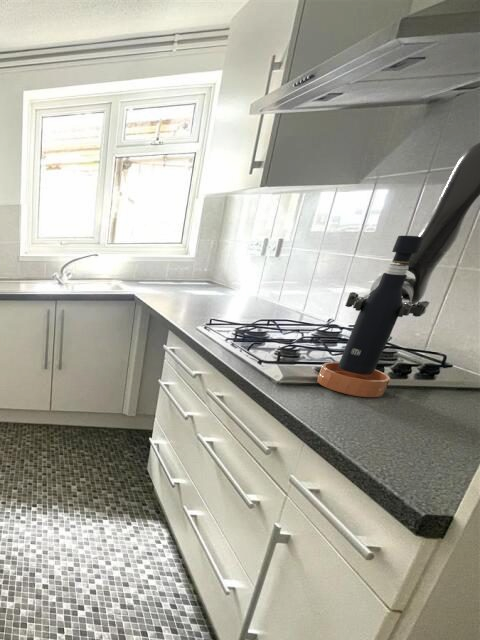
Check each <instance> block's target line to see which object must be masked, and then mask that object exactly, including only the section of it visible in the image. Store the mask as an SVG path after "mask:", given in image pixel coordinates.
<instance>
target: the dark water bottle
mask: <svg viewBox="0 0 480 640" xmlns="http://www.w3.org/2000/svg"><path fill="white" fill-rule="evenodd" d="M423 238H424V237H421V236H417V235H397V238H396V240H395V243H394V246H393V248H392V250H391V253H395V254H394V257H393V259H392V260H391V262H392V264H391V263H389V264H388V266H387V267H386V268H387V269H386V270H385V272H383V273H382V274H383V276H382V278H381V280H380V283H379V285H378V287H377V288H376V289H375V290H374V291H373V292H372V293H371V294H370V296H369V297H368V298H367V300H366V301H365V303H364V304H363V306H362V308H361V310H360V311H358V312H359V313H358V314H357V317H356V320H355V322H354V325H353V327H352V330H351V333H350V335H349V337H348V340H347V343H346V345H345V347H344V349H343V352H342V354H341V357H340V360H339V361H338V362H339V365H338V367H339V368H341V369H343V370H345V371H348V372H352V373H357V374H366V375H368V374H373V373H374V370H376V368H377V366H378V363H379V361H380V359H381V357H382V354H383V352H384V350H385V348H386V346H387V343H388V341H389V339H390V336H391V334H392V332H393V330H394V327H395V325H396V322H397V320H398V318H399V317H398V314H399V312H400V309H401V304H402V286H403V284H404V282H405V279H406V277H408V275H407V273H408V270H407V269H409V268H408V267H409V266H407V265H400V264H399V263H402V264H407V263H409V260H410V258H411V255H412V254H414V253H417V252H418V250H419V248H420V245H421V243H422V241H423Z"/></svg>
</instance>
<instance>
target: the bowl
mask: <svg viewBox="0 0 480 640" xmlns="http://www.w3.org/2000/svg"><path fill="white" fill-rule="evenodd" d="M339 362H340V361H330V362H324V363H322V364H321V366H320V367H321V368H320V371H319V373H318V376H317V378H316V381H317V383H318V384H319V385H320V386H322V387H324V388H327V389H329V390H331V391H333V392H337V393H341V394H345V395H349V396H353V397H362V398H380V397H382V396H383V395H384V394H385V392H386V390H387V388H388V385H389V382H390V381H391V377H390V375H388V374H387V373H385V372H383V371H380V370H378V369H375V370H374V373H373V374H368V375H366V374H357V373H352V372H348V371H345V370H343V369H341V368H339V367H338V365H339Z"/></svg>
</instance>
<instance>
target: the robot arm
mask: <svg viewBox="0 0 480 640" xmlns="http://www.w3.org/2000/svg"><path fill="white" fill-rule="evenodd" d="M479 197H480V141H479V142H476V143H474V144H473V145H471V146H469V148H467V149H466V150H465V151H464V152H463V153H462V154H461V156H460V157H459V159H458V161H457V162H456V163H455V166H454V168H453V170H452V171H451V174H450V176H449V178H448V180H447V181H446V184H445V185H444V188H443V190H442V191H441V194H440V195H439V198H438V199H437V201H436V203H435V205H434V207H433V209H432V211H431V212H430V214H429V216H428V218H427V219H426V221H425V223H424V224H423V226H422V227H421V228H420V230H419V232H418V233H417V234H416V236H421V237H424V238H423V241H422V243H421V245H420V248H419V250H418V252H417V253H414V254H412V255H411V258H410V260H409V263H407V264H402V263H398V264H399V265H407V266H409V267H408V268H409V269H407V272H410V273H411V274H413V276H414V277H410V276H407V277H406V279H405V282H404V284H403V286H402V304H401V309H400V312H399V314H398V318H403V316H409V315H410V314H411V315H412V316H413V317H415V318H417V317H421V316H423V315H424V314H426V311H427V309H428V307H429V304H430V301H428V300H423V297H424V296H425V294H426V291H427V288H428V286H429V282H430V279H431V277H432V274H433V273H434V271H435V269H436V268H437V267H438V265H439V264H440V262H441V261H442V260H443V258H444V257H445V256H446V254H447V253H448V252H449V251H450V249H451V248H452V247H453V246H454V244H455V242H456V241H457V239H458V237H459V235H460V233H461V229H462V227H463V225H464V220H465V219H466V216H467V214H468V212H469V211H470V209H471V207H472V206H473V204H474V203H475V202H476V200H477V199H478V198H479ZM382 276H383V273H382V274H380V275H379V276H378V277H377V278H376V279H375V280H374V281H373V283H372V284H371V286H370V291H369V294H365V295H364V296H359V293H356V292H355V291H351V292H349V294H348V297H347V299H346V302H345V305H344V306H345V307H347V308H351V307H352V309H355V311H356V312H360V310H361V308H362V306H363V304H364V303H365V301H366V300H367V298H368V297H369V296H370V294H371V293H372V292H373V291H374V290H375V289H376V288H377V287H378V285H379V283H380V280H381V278H382ZM421 300H423V301H421Z"/></svg>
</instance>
